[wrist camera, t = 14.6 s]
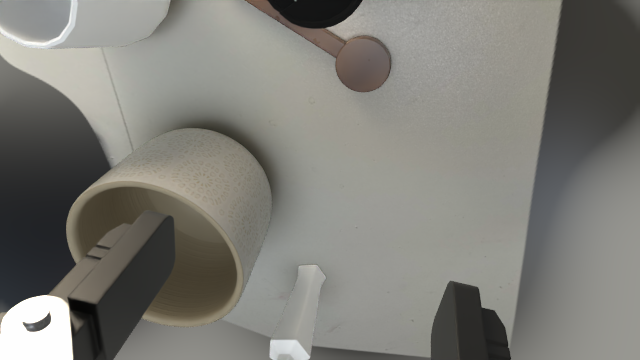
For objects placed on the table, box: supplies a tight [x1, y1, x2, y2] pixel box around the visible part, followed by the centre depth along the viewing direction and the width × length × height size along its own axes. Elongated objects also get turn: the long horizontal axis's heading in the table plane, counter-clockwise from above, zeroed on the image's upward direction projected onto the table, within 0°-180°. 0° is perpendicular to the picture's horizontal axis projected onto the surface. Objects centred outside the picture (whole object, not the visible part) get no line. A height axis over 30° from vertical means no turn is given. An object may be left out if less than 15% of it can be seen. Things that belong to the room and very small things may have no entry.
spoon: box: [245, 0, 391, 92], centre depth 44 cm, size 18×5×1 cm, turn 60°
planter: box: [66, 128, 272, 327], centre depth 49 cm, size 17×17×15 cm
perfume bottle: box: [270, 265, 326, 360], centre depth 54 cm, size 5×4×15 cm
